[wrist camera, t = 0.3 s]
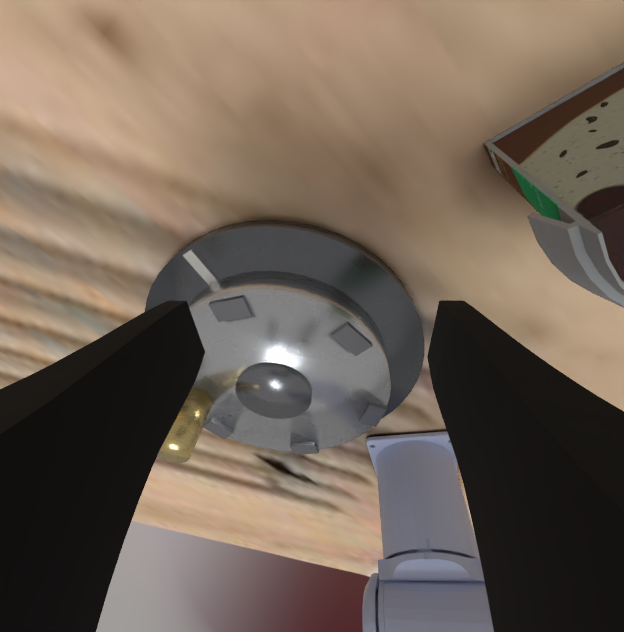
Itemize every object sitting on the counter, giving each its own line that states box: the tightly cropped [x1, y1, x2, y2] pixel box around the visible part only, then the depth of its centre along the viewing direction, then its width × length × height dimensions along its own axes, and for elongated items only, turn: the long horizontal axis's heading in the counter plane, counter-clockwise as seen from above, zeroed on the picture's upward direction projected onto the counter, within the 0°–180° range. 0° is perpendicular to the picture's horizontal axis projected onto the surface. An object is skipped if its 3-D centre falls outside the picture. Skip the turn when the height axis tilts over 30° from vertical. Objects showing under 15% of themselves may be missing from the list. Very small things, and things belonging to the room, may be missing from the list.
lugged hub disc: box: [157, 271, 391, 463], centre depth 20 cm, size 15×15×6 cm
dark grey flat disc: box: [145, 220, 424, 419], centre depth 23 cm, size 20×20×1 cm
